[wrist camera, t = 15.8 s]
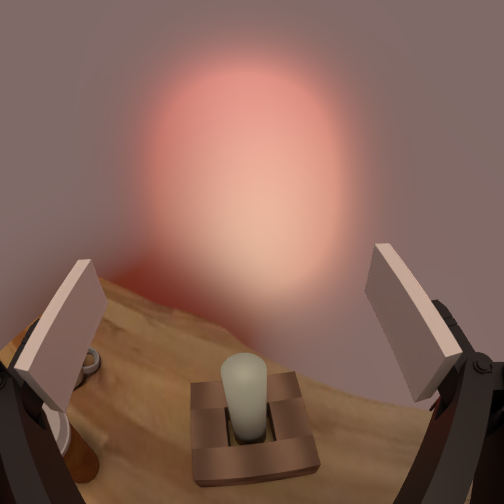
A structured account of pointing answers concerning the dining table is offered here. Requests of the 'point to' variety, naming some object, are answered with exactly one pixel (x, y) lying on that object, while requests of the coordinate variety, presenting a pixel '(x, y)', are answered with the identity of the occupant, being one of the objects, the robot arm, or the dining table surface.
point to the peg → (246, 396)
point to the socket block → (254, 455)
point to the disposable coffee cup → (72, 447)
